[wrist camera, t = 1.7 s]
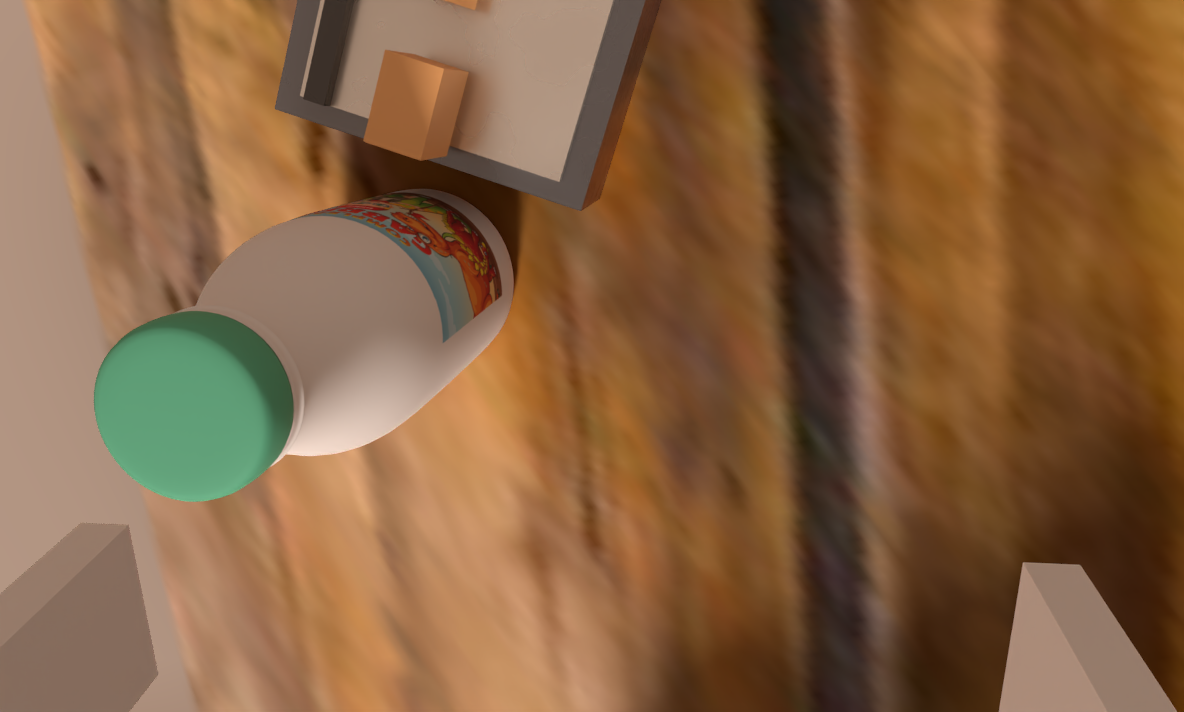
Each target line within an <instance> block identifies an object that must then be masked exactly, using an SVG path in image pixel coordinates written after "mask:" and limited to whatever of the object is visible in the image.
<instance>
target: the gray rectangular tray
mask: <svg viewBox="0 0 1184 712" xmlns="http://www.w3.org/2000/svg"><path fill="white" fill-rule="evenodd" d="M660 3H661V0H477V4H476V8H475V10H472V9H469V8H466V7H463V6H460V5H457V4H453V3H450V2H447V1H444V0H298V1H297V6H296V11H295V15H294V20H293V25H292V30H291V34H290V39H289V44H288V49H287V53H286V58H285V63H284V67H283V72H282V77H281V82H280V86H279V91H278V96H277V101H276V105H275V109H276V110H279V111H282V112H285V113H288V114H291V115H294V116H297V117H300V118H303V119H306V120H309V121H312V122H315V123H318V124H321V125H324V126H327V127H330V128H333V129H336V130H339V131H342V132H345V133H348V134H351V135H354V136H357V137H360V138H363V139H364V136H365V131H366V127H367V123H368V119H369V115H370V111H371V106H372V102H373V98H374V94H375V90H376V85H377V81H378V77H379V73H380V69H381V64H382V60H383V56H384V52H385V50H391V51H397V52H404V53H410V54H416V55H419V56H422V57H425V58H428V59H431V60H434V61H437V62H440V63H443V64H446V65H449V66H452V67H455V68H458V69H461V70H465V71H468V72H469V73H468V77H467V81H466V85H465V89H464V92H463V96H462V100H461V104H460V108H459V111H458V115H457V119H456V123H455V127H454V130H453V134H452V138H451V142H450V146H449V149H448V153H447V156H445V157H439V158H433V159H428V160H429V161H432V162H435V163H438V164H441V165H444V166H447V167H450V168H453V169H456V170H459V171H462V172H465V173H468V174H471V175H474V176H477V177H480V178H483V179H486V180H489V181H492V182H495V183H498V184H501V185H504V186H507V187H510V188H513V189H516V190H519V191H522V192H525V193H528V194H531V195H534V196H537V197H540V198H543V199H546V200H549V201H552V202H555V203H558V204H561V205H564V206H567V207H570V208H573V209H576V210H579V211H582V210H583V209H585V208H586V207H588V206H589V205H591V204H592V203H594V202H595V201H597V200H598V199H600V196H601V193H602V190H603V186H604V183H605V180H606V177H607V174H608V170H609V167H610V164H611V161H612V158H613V154H614V151H615V148H616V145H617V141H618V138H619V135H620V132H621V129H622V125H623V122H624V119H625V116H626V112H627V109H628V106H629V103H630V100H631V96H632V93H633V90H634V87H635V84H636V80H637V77H638V74H639V71H640V67H641V64H642V61H643V58H644V55H645V51H646V48H647V45H648V42H649V38H650V35H651V32H652V29H653V26H654V22H655V19H656V16H657V13H658V10H659V6H660Z"/></svg>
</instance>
